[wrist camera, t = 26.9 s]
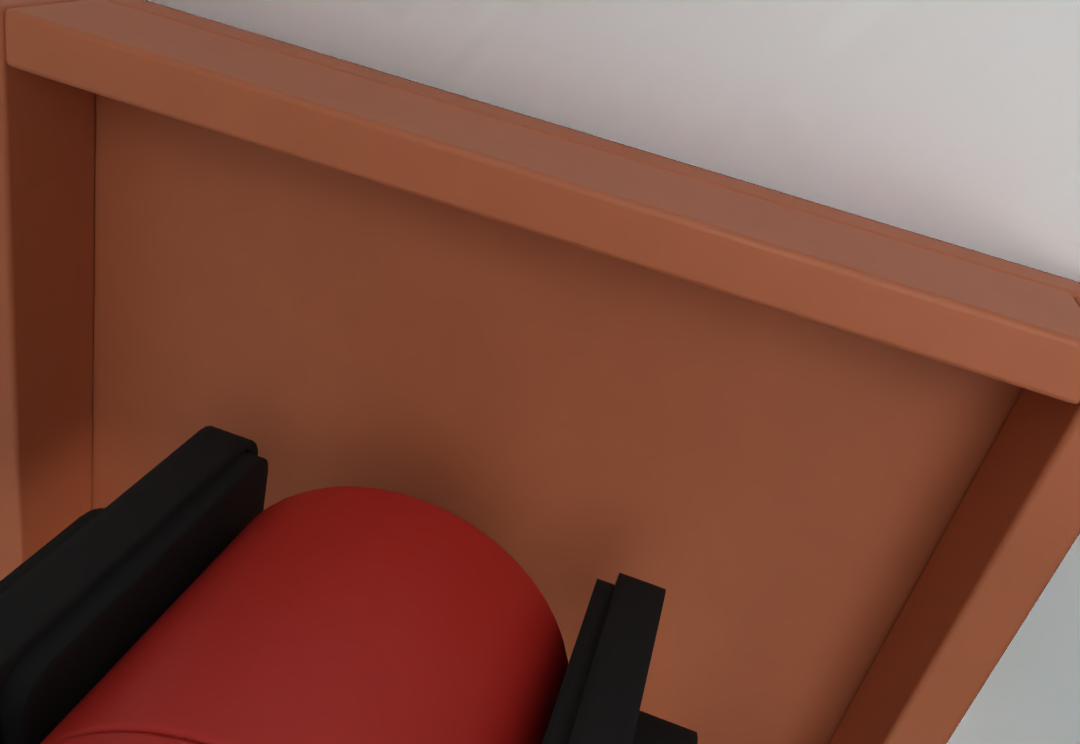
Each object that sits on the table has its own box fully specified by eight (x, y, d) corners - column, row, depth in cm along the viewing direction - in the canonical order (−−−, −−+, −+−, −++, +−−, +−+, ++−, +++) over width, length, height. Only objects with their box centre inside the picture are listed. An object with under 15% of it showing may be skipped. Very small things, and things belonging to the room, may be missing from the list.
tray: (80, 610, 16) (-9, 694, 14) (81, -21, 11) (-51, -10, 10) (781, 884, 15) (777, 1015, 13) (1120, 293, 10) (1186, 373, 8)
